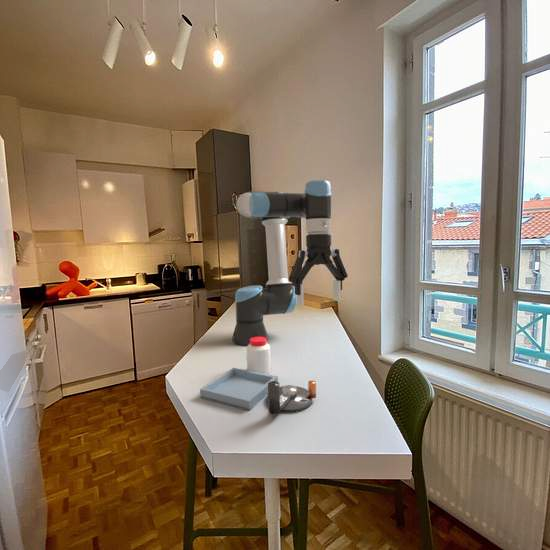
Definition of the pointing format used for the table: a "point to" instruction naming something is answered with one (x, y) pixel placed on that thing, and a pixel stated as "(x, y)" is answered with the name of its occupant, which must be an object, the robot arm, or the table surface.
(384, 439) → the table surface
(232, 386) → the tray
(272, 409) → the crank
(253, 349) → the pill bottle
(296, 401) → the crank base
